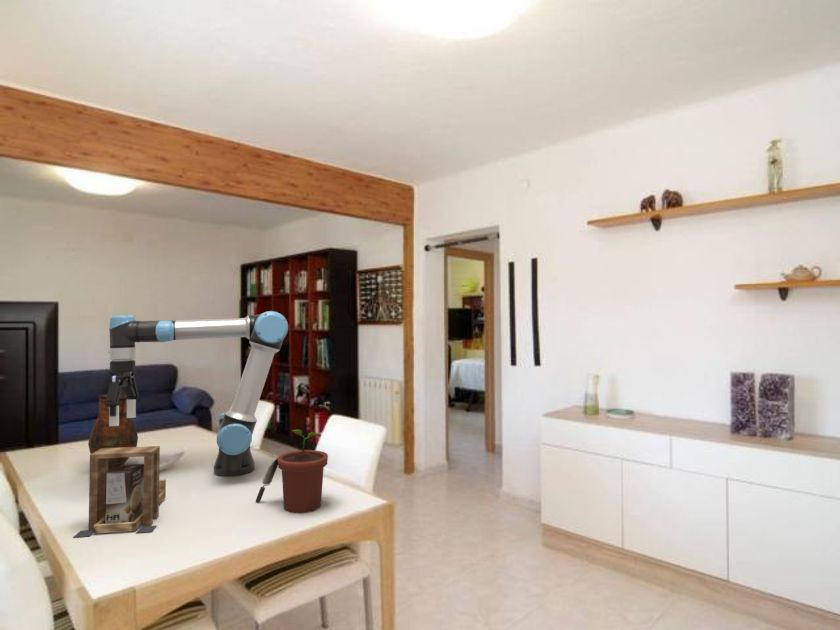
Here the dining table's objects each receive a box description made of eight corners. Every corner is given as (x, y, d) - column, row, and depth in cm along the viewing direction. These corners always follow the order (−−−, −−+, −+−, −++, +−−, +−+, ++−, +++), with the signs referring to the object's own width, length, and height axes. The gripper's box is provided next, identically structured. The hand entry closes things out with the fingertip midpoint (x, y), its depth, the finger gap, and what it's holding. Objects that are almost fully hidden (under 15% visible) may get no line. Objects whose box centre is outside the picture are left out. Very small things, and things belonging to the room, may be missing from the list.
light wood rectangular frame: (165, 497, 161) (165, 479, 161) (135, 530, 135) (135, 508, 135) (130, 499, 159) (130, 481, 159) (93, 533, 133) (93, 511, 133)
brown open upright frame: (158, 516, 146) (159, 446, 147) (150, 526, 139) (151, 452, 140) (99, 520, 143) (101, 448, 143) (88, 530, 136) (89, 454, 137)
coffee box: (128, 529, 137) (129, 472, 137) (104, 530, 136) (105, 473, 137) (143, 516, 146) (144, 463, 146) (121, 517, 146) (122, 463, 146)
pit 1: (96, 530, 136) (96, 529, 136) (89, 536, 132) (89, 535, 132) (80, 531, 135) (80, 530, 135) (73, 538, 131) (73, 536, 131)
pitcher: (97, 480, 180) (99, 398, 180) (77, 469, 193) (78, 393, 193) (145, 469, 193) (146, 393, 193) (123, 460, 206) (124, 389, 206)
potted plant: (287, 522, 143) (288, 436, 143) (254, 502, 159) (255, 425, 159) (337, 506, 155) (338, 428, 156) (303, 489, 171) (303, 418, 171)
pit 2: (156, 526, 139) (156, 525, 139) (151, 532, 135) (151, 531, 135) (141, 527, 138) (141, 526, 138) (136, 533, 134) (136, 532, 134)
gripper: (126, 357, 179) (126, 415, 179) (92, 363, 155) (93, 430, 154) (148, 357, 181) (148, 414, 180) (118, 362, 156) (118, 428, 156)
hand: (123, 421), depth 167 cm, fingers open, 13 cm apart
